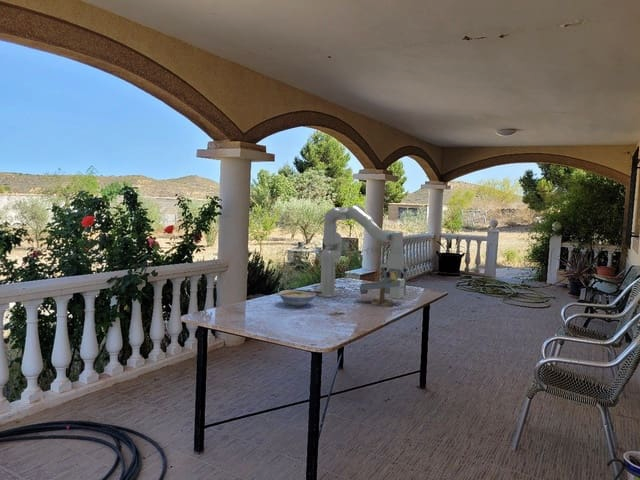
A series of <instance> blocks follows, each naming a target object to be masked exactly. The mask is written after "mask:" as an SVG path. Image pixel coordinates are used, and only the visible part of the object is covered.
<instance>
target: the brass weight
mask: <svg viewBox="0 0 640 480" xmlns="http://www.w3.org/2000/svg"><path fill="white" fill-rule="evenodd" d="M389 277H390V283H393V282H398V276H397V272H389Z"/></svg>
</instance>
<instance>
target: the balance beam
mask: <svg viewBox="0 0 640 480" xmlns="http://www.w3.org/2000/svg"><path fill="white" fill-rule="evenodd" d="M380 287H384V288H391V287H400V280H398V282H393V283H390V281H384V280H383V281H378V282H377V281H376V282H369V283H360V285H359V293H360V295H366V294H368V292H369V291H370V290H380Z"/></svg>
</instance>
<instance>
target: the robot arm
mask: <svg viewBox="0 0 640 480" xmlns="http://www.w3.org/2000/svg"><path fill="white" fill-rule="evenodd" d="M345 220H354V221H355V222H356V223H358V225H360V226H362V228H364V230H365V231H366V232H367V233H368V234H369V236H371V237H372V238H373V239H375V240H376V241H377V242H380V243H387V242H390V243H389V244H390V245H389V246H390V247H388V248H387V251H388V255H387V261H386V262H385V263H383V264H382V265H381V266H382V268H383V270H384V269H385V271H386V272H387V276H386V277H388V278H389V270H390V269H400V270H401V271H402V272H401V279H402V278H403V273H404V272H405V271H406V270H407V271H408V269H409V268H410V267H409V265H408V264H406V263H405V260H404V259H405V256H404V253H403V245H404V244H403V243H404V242H403V241H404V232H403V231H401V230H391V229H383V228H381V227H379V226H378V225H377V223H375V221H374V218H373V216H372V215H370V214H369V213H368V212H366V210H365V207H363V206H362V205H361V204H360V205H359V204H353V205H350V206H344V207H342V206H341V207H340V206H338V207H332V208H330V209H328V210H327V211H326V213H325V215H324V220H323V222H324V224H323V234H322V235H323V238H322V243H323V245H324V246H325V247H328V248H325V249H324V250H322V252H321V253H320V255H319V258H320V266H321V267H320V287H319V288H314V289H313V291H316V292H322V293H321V294H319V293H317V294H318V296H319V297H323V298H324V297H325V298H333V297H335V298H336V297H337V296H338V293H336V291H335V290H336V264H335V263H336V262H338V261H339V260H340V259H341V256H342V245H343V239H342V234H340V233H339V232H337V230H338V229H337V228H338V227H337V221H345ZM387 268H388V269H387ZM403 269H404V270H403ZM407 271H406V272H407Z"/></svg>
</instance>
